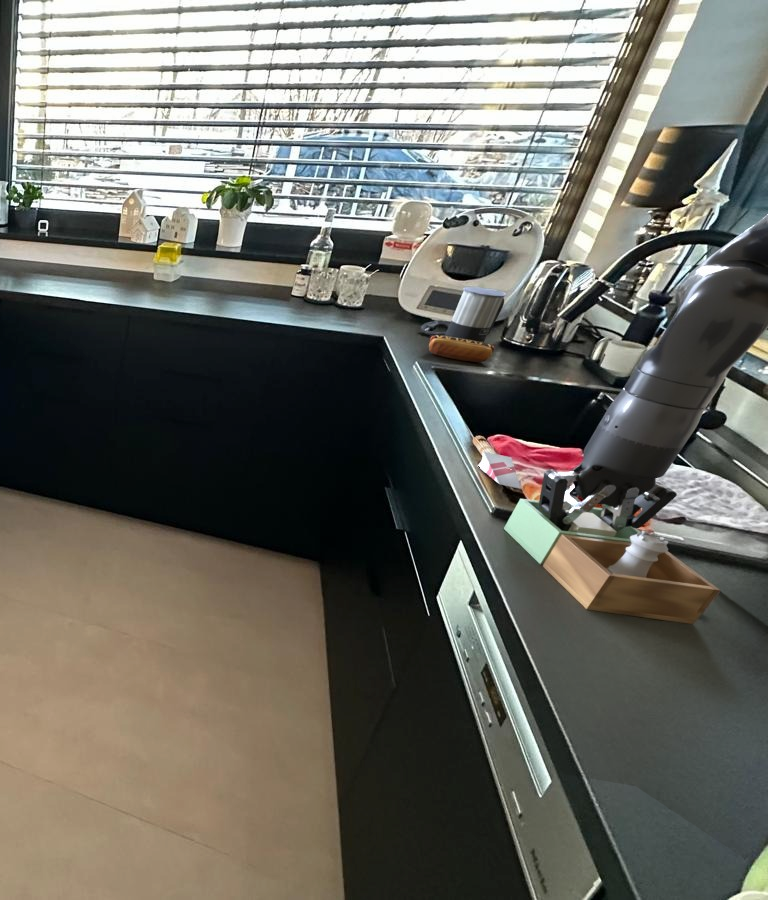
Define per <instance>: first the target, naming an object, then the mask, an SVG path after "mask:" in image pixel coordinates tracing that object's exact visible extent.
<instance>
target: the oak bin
mask: <svg viewBox="0 0 768 900" xmlns="http://www.w3.org/2000/svg"><path fill="white" fill-rule="evenodd" d="M631 545H632V543H625V542H617V541H609V540H602V539H594V538H586V537H578V536H570V535H561V537H560V538H559V540H558V542H557V543H556V545H555V547H554V548H553V550H552V551H551V553H550V555H549V556H548V558H547V560H546V561H545V563H544V565H542V568H544V570H545V571H546V572H548V573H549V575H550V576H552V577H553V578H554V580H555V581H557V582H558V584H560V585H561V586H562V587H563V588H564V589H565V590H566V591H567V592H568V593H569V594H570V595H571V596H572V597H573V598H574V599H575V600H576V601H577V602H578V603H579V604H581V606H582V607H584V609H585V610H587V611H595V612H596V611H597V612H602V613H609V614H610V613H611V614H619V615H625V616H626V615H627V616H631V617H632V616H633V617H640V618H647V619H653V620H654V619H655V620H662V621H668V622H675V623H682V624H690V625H694V624H695V623H696V621H698V620H699V618H700V617H701V616H702V614H703V613H704V612H705V611H706V610H707V608H708V607H709V606H710V604H711V603H712V602H713V601H714V600H715V598H716V597H717V596H718V594H719V593H720V592H721V589H719V588H718V587H717V586H715V585H714V584H713V583H711V582H710V581H709V580H707V579H706V578H704V577H703V576H702V575H700V574H699V573H698V572H696V570H694V569H692V568H691V567H690V566H688V565H687V564H686V563H684V562H683V561H681V560H680V559H679V558H677V557H676V556H675V555H674V554H672V553H671V552H669V550H668V551H667V552H664V553H661V554H659V555H658V556H657V558H658V561H655V562H653V563H652V565H651V566H650V568H649V570H648V573H647V575H646V578H643V577H635V576H628V575H620V574H613V573H610V572H609V571H608V570H607V569H606V568H609V566H611V565H614V564H615V563H616V562H617V561H618V560H619V559H620V558H621V557H622V556H623V555H624V554H625V553H626V547H629V546H631Z"/></svg>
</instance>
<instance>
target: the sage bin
mask: <svg viewBox="0 0 768 900" xmlns="http://www.w3.org/2000/svg"><path fill="white" fill-rule="evenodd" d="M571 508H572V506H571V507H569V508H568V509H567V510H570V509H571ZM601 512H602V507H596V506H595V507H594V508H593V509H591V510H590V511H589V512H588V513H593V514H595V515H596V516H597V517H599V518H600V516H601ZM549 519H550V516H549V515H548V514H547V513H546V512H545V511H543V510H542V509H541V508H540V507H539V500H536V499H528V498H519V500H518V502H517V503H516V506H515V507H514V509H513V511H512V513H511V515H510V516H509V518H508V520H507V522H506V524H505V525H504V527H503V529H504V530H505V532H506V533H508V535H510V536H511V538H513V540H515V541H516V543H518V544H519V545H520V546H521V547H522V548H523V549H524V550H525V551H526V552H527V554H529V555H530V556H531V557H532V558H533V559H534V560H535V561H536V562H537V563H538V564H539V565H542V566H543V565H544V563H545V561H546V560H547V558H548V556H549V555H550V553H551V551H552V550H553V548H554V547H555V545H556V543H557V542H558V540H559V538H560V537H561V535H570V536H578V537H586V538H594V539H602V540H609V541H617V542H625V543H631V540H630V536H632V535H636V534H638V532H639V531H640V529H639V528H633V527H632V526H630V527H625V528H624V529H622V530H618V531H617V533H616V534H615V536H614V537H609V536H601V535H593V534H585V533H577V532H569V531H561V530H560V529H559V528H558V527H557V526H556V525H554V524H553V523H552V522H551V521H550V520H549ZM600 519H601V518H600ZM601 520H602V519H601Z"/></svg>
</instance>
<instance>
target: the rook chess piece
mask: <svg viewBox="0 0 768 900" xmlns="http://www.w3.org/2000/svg"><path fill="white" fill-rule="evenodd" d="M630 540H631V543H632V545H631V546H629V547H626V553H625V554H624V555H623V556H622V557H621V558H620V559H619V560H618V561H617V562H616V563H615V564H614V565H611V566H609V568H606V569H607V570H608V571H609V572H610V573H613V574H620V575H628V576H635V577H643V578H646V575H647V573H648V570H649V568H650V566H651V565H652V563H653V562H655V561H658V558H657V556H658V555H659V554H661V553H664V552H667V551H668V552H669V548H668V544H669V541H668V539H667V538H666V537H664V536H660V537H659V538H658V533H656V532H653V531H652V532H651V533H650V534H649V531H647V530H639V532H638V534H636V535H632V536H630Z"/></svg>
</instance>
